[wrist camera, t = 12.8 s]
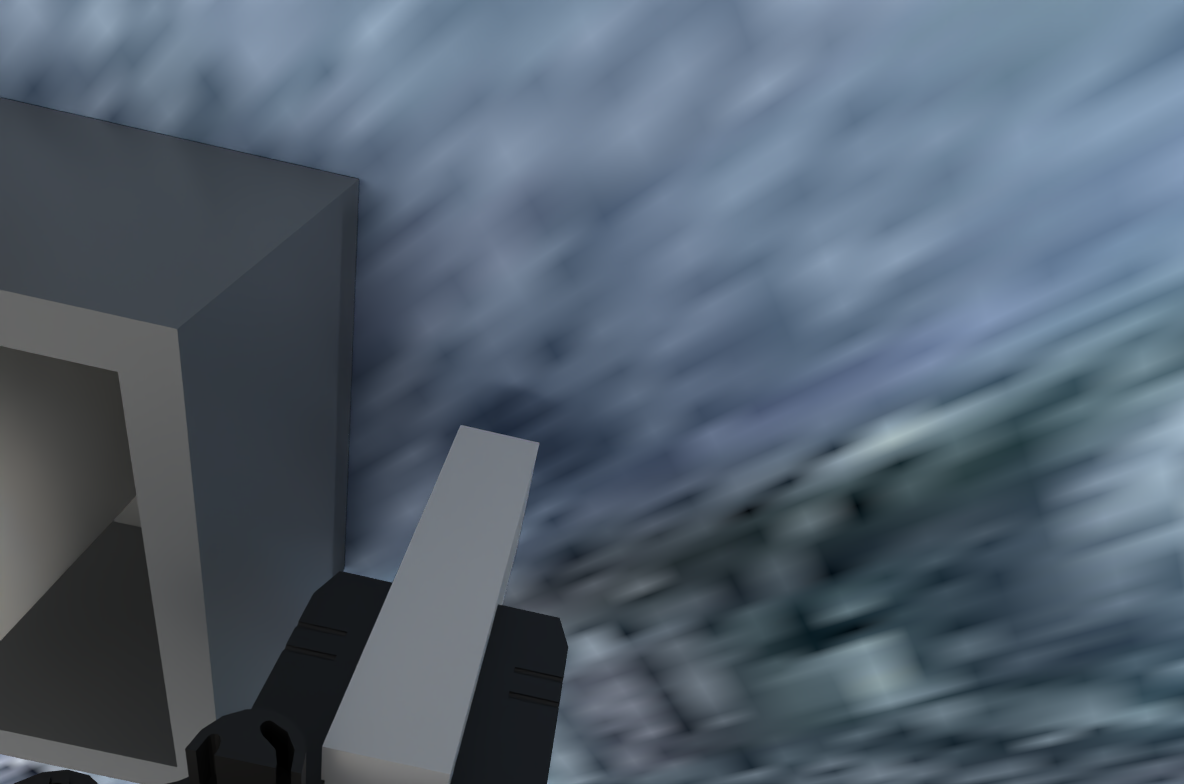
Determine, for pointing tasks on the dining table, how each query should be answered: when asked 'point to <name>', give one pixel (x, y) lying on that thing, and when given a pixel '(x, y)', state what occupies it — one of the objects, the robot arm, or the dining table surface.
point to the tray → (161, 431)
